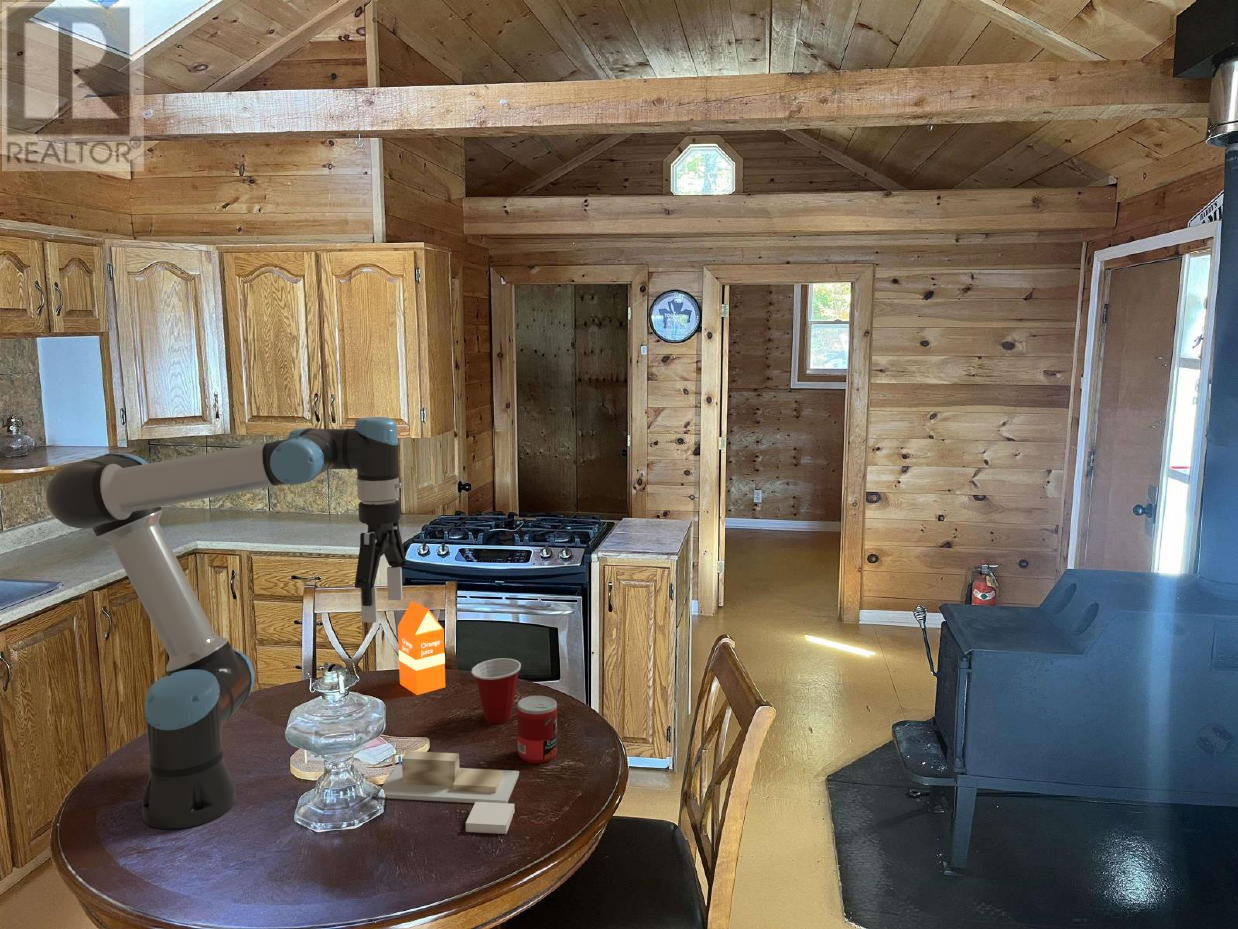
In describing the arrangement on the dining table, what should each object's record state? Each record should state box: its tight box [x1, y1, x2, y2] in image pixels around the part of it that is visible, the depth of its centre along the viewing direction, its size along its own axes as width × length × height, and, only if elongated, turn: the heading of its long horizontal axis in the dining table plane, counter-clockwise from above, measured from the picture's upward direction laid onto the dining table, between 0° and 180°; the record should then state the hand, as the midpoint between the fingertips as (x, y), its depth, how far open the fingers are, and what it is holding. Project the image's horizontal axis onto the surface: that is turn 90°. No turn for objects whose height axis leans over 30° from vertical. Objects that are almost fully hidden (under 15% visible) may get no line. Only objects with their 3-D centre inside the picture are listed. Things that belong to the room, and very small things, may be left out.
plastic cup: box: [471, 657, 522, 724], centre depth 195 cm, size 11×11×12 cm
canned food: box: [516, 695, 558, 764], centre depth 179 cm, size 8×8×11 cm
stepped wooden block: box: [401, 750, 503, 793], centre depth 166 cm, size 18×6×5 cm, turn 84°
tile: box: [465, 802, 516, 835], centre depth 155 cm, size 2×7×7 cm
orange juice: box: [397, 600, 446, 696], centre depth 213 cm, size 8×9×20 cm
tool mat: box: [380, 764, 520, 804], centre depth 167 cm, size 24×11×1 cm, turn 85°
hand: (383, 610), depth 169 cm, fingers open, 13 cm apart
